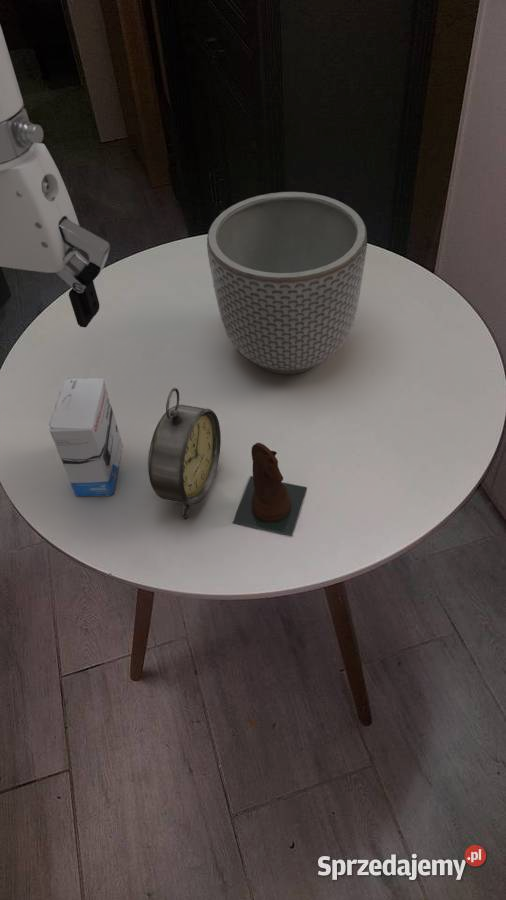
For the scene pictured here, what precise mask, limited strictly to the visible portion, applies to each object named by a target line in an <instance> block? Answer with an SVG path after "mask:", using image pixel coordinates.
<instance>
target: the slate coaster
mask: <svg viewBox="0 0 506 900" xmlns="http://www.w3.org/2000/svg"><path fill="white" fill-rule="evenodd" d="M281 482H282V484H283V485H284V486H285V487H286V489H287V492H288V494H289V496H290V500H291V509H290V511H289V513H288V514H287V516H286V517H285V518H283V519H281V520H279V521H276V522H266V521H263V520H260V519H259V518H257V517H256V516H255V515H254V513H253V511H252V507H251V501H252V496H253V493H254V489H255V488H254V482H253V475H250V477H249V478H248V481H247V484H246V487H245V489H244V492H243V495H242V497H241V500H240V502H239V505H238V508H237V510H236V513H235V515H234V518H233V520H232V524H235V525H238V526H243V527H248V528H252V529H257V530H260V531H261V530H262V531H267V532H271V533H275V534H279V535H280V534H281V535H284V536H288V537H292V536H293V534H294V531H295V528H296V526H297V522H298V518H299V515H300V512H301V509H302V507H303V504H304V500H305V497H306V493H307V490H308V486H304V485H298V484H292V483H289V482H284V481H281Z"/></svg>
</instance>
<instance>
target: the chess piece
mask: <svg viewBox="0 0 506 900" xmlns="http://www.w3.org/2000/svg"><path fill="white" fill-rule="evenodd" d="M277 454H278V452H277V451H276V450H271V449H270V448H269V447H267V446H266V445H265V444H264V443H261V442H256V443H254V444H253V445H251V458H252V476H253V482H254V488H255V489H254V493H253V496H252V501H251V507H252V511H253V513H254V515H255V516H256V517H257V518H259V519H260V520H263V521H266V522H276V521H279V520H281V519H283V518H285V517H286V516H287V514H288V513H289V511H290V509H291V500H290V496H289V494H288V492H287V489H286V487H285V486H284V485H283V484H282V482H283V481H284V477H283V475H282V473H281V471H280V468H279V459H278V458H277V457H276V455H277Z"/></svg>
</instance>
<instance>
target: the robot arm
mask: <svg viewBox="0 0 506 900" xmlns="http://www.w3.org/2000/svg"><path fill="white" fill-rule="evenodd" d="M3 32H4V31H3V29H2V26H1V24H0V310H1V309H2V308H3V307H4V306H5V305H6V304H7V303H8V301H9V300H10V299H11V298H12V292H11V289H10V286H9V284H8V281H7V279H6V276H5V273H4V271H3V268H7V269H8V268H9V269H15V270H22V271H30V272H39V273H48V274H56V275H57V276H58V277H59V278H60V279H61V280H62V281H64V282H65V283H66V285H68V286H69V287H70V288H71V289H70V290H69V292H68V298H69V300H70V304H71V308H72V311H73V313H74V317H75V320H76V323H77V325H78V327H80V328H84V329H85V328H87V327H88V325H89V324H90V323H91V321H92V320H93V319H94V317H95V316H96V315H97V314H98V312H99V310H100V300H99V298H98V293H97V291H96V285H95V282H94V280H95V279H97V277H98V276H100V275H99V274H101V272H102V270H103V269H104V268H105V266H106V264H107V263H106V262H107V260H108V257H109V253H110V250H111V244H110V243H109V242H108V241H107V240H106V239H104V238H102V237H100V236H98V235H97V234H95V233H93V232H91V231H89V230H87V229H86V228H84V227H82V226H81V225H80V223H79V220H78V217H77V214H76V211H75V209H74V205H73V201H72V200H71V197H70V195H69V192H68V189H67V186H66V184H65V182H64V180H63V177H62V175H61V172H60V171H59V169H58V167H57V164H56V162H55V161H54V159H53V157H52V155H51V152H49V149H48V148H47V147H46V145H45V143H42V142H43V141H44V138H45V137H44V129H43V127H42V125H41V124H35V123H33V122H32V121H30V119H29V114H28V111H27V109H26V107H25V103H24V100H23V97H22V93H21V90H20V86H19V82H18V80H17V76H16V72H15V69H14V65H13V62H12V59H11V56H10V53H9V49H8V45H7V43H6V39H5V35H4V33H3ZM78 250H81V251H83V252H84V253H86V254H87V256H88V260H87V258H86V257H85V256H83V254H82V253H80V252H79V251H78ZM69 263H70V264H71V265H72V266H73V267H74V268H75V269H76V270H78V271H79V273H78V274H77V273H76V272H75V271H74V270H72V268H70V266H68V264H69ZM2 267H3V268H2Z"/></svg>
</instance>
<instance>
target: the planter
mask: <svg viewBox="0 0 506 900" xmlns="http://www.w3.org/2000/svg"><path fill="white" fill-rule="evenodd" d="M206 237H207V238H206V241H207V242H206V252H207V257H208V263H209V269H210V273H211V277H212V284H213V290H214V296H215V299H216V303H217V308H218V312H219V316H220V318H221V322H222V324H223V327H224V330H225V332H226V336H227V337H228V339H229V341H230V342H231V343H232V345H233V347H234V348H235V349H236V350H237V351H238V352H239V353H240V354H241V355H243V356H244V357H245V358H246V359H248V360H249V361H251V362H252V363H255V364H256V365H259V366H260V367H261V368H263V369H264V370H266V371H269V372H271V373H273V374H279V375H298V374H302V373H305V372H308V371H310V370H312V369H314V368H316V367H317V366H318V365H319V364H320V363H323V362H324V361H326V360H327V359H329V358H330V357H332V356H333V355H334V354H335V353H336V352H337V351H338V350H339V349H340V348H341V347H342V346H343V344H344V343H345V341H347V338H348V337H349V334H350V332H351V330H352V328H353V325H354V323H355V322H354V321H355V318H356V315H357V309H358V304H359V299H360V295H361V289H362V282H363V276H364V268H365V264H366V263H365V262H366V256H367V248H368V233H367V227H366V224H365V222H364V220H363V218H362V217H361V216H360V214H359V213H357V211H355V210H354V208H351V207H350V206H349V205H347V204H345V203H343V202H342V201H339V200H337V199H335V198H332V197H329V196H326V195H322V194H318V193H312V192H304V191H280V192H271V193H270V192H269V193H265V194H260V195H256V196H253V197H249V198H247V199H244V200H241V201H239V202H237V203H235V204H233V205H231V206H229V207H228V208H227V209H225V210H224V211H222V212H221V213H220V214H219V215H218V216H217V217H216V218H215V219H214V220H213V221H212V223H211V225H210V227H209V229H208V232H207V236H206Z"/></svg>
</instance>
